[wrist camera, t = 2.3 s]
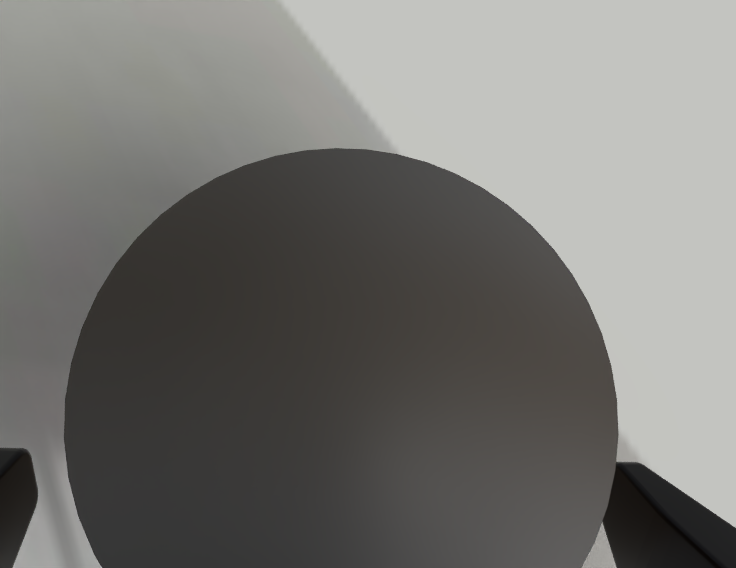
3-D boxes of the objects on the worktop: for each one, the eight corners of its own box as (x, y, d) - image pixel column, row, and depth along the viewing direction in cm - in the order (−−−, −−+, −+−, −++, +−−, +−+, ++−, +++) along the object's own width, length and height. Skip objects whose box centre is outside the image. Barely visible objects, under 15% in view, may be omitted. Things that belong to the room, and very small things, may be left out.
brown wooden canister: (413, 554, 17) (681, 665, 5) (233, 571, 16) (30, 750, 4) (394, 361, 19) (549, 101, 7) (233, 370, 18) (93, 103, 6)
